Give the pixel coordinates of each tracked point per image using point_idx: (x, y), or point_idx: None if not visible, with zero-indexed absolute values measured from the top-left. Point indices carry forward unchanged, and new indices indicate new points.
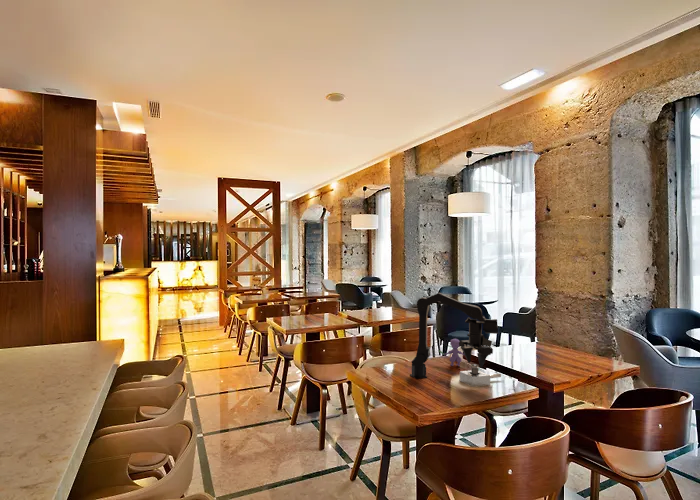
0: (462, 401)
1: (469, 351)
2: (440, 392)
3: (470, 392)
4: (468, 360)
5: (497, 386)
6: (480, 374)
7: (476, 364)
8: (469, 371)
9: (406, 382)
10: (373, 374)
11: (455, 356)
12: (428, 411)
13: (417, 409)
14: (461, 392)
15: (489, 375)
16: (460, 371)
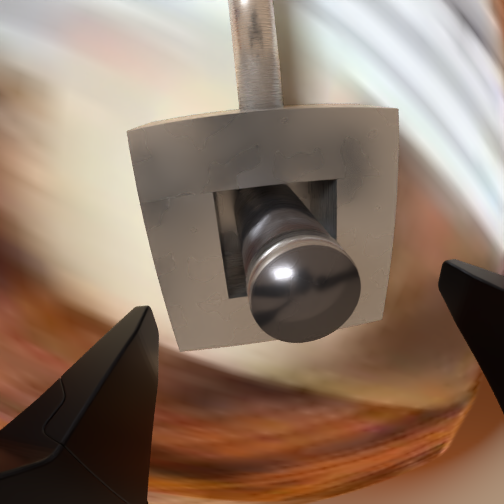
0: (457, 381)
1: (87, 488)
2: (350, 428)
3: (416, 326)
4: (156, 361)
5: (399, 74)
6: (341, 201)
7: (286, 260)
8: (194, 264)
9: (193, 480)
10: None
11: None
12: (439, 448)
13: (417, 463)
14: (394, 364)
15: (398, 119)
16: (183, 347)
